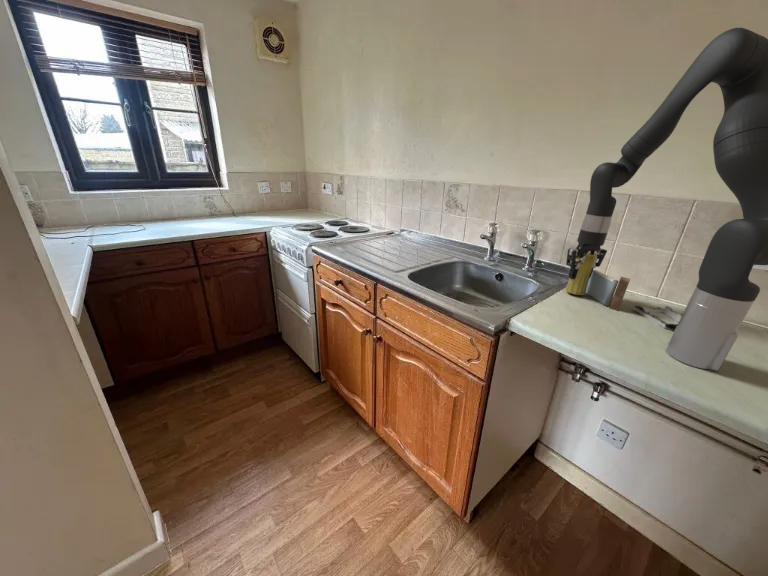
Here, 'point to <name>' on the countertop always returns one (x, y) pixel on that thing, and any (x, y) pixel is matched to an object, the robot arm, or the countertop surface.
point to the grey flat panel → (601, 287)
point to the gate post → (619, 293)
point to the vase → (581, 276)
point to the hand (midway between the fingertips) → (579, 278)
